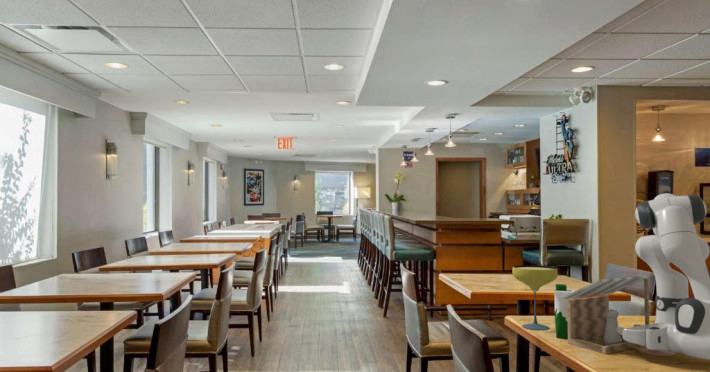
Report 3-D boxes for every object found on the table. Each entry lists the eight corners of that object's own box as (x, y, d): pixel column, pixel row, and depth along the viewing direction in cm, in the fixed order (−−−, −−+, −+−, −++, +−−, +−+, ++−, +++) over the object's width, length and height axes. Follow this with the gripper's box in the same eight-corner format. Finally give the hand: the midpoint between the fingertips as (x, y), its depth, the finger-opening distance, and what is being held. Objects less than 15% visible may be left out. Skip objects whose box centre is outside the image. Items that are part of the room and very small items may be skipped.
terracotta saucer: (657, 347, 183) (657, 344, 183) (682, 355, 172) (682, 353, 172) (630, 348, 181) (630, 346, 181) (653, 357, 170) (653, 354, 170)
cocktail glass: (509, 322, 223) (508, 265, 225) (551, 323, 222) (550, 265, 223) (518, 331, 205) (517, 269, 207) (564, 332, 204) (563, 270, 205)
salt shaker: (623, 349, 180) (622, 312, 181) (606, 348, 181) (605, 311, 182) (618, 344, 186) (617, 308, 186) (601, 343, 187) (601, 308, 187)
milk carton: (557, 333, 203) (556, 283, 204) (582, 336, 198) (581, 284, 199) (553, 338, 195) (552, 285, 196) (578, 341, 190) (577, 287, 192)
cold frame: (611, 335, 199) (610, 270, 200) (651, 345, 185) (649, 275, 186) (562, 344, 186) (561, 274, 187) (601, 355, 172) (599, 280, 173)
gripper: (683, 323, 172) (644, 316, 184) (647, 330, 162) (608, 322, 174) (684, 342, 172) (644, 333, 184) (648, 350, 162) (608, 340, 174)
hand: (626, 328), depth 179 cm, fingers open, 8 cm apart
